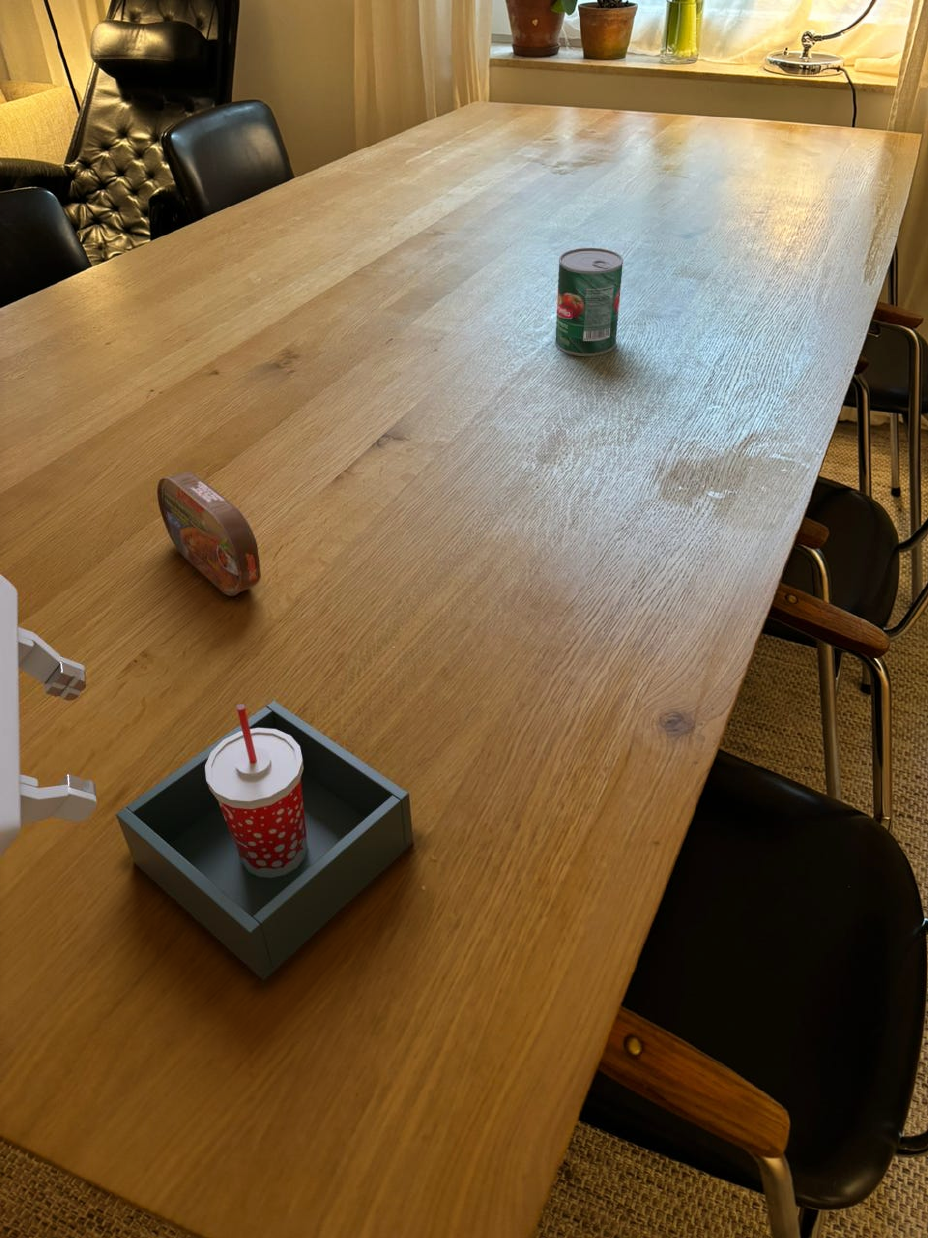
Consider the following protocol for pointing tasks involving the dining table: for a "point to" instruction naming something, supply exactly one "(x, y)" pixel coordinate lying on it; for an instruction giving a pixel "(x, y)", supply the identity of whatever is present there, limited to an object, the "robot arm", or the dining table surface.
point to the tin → (209, 532)
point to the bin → (285, 905)
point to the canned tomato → (588, 301)
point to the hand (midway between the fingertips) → (85, 740)
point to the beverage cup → (261, 797)
